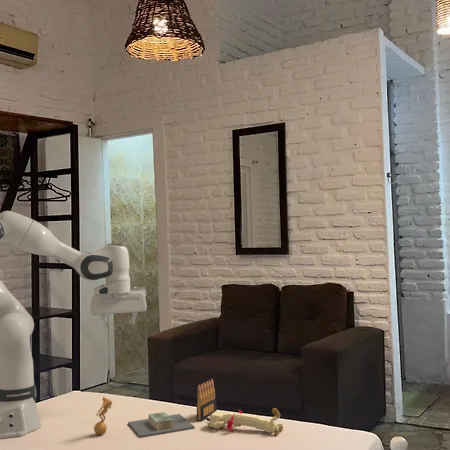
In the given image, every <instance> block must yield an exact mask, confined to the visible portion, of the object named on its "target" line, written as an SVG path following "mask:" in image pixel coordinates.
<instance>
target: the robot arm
mask: <svg viewBox="0 0 450 450" xmlns="http://www.w3.org/2000/svg"><path fill="white" fill-rule="evenodd" d="M0 243H7V244H10V245H11V246H14V247H16V248H18V249H20V250H21V251H25V252H27V253H30V254H33V255H37V256H46V257H50V258H53V259H55V260H58V261H59V262H62V263H64V264H65V265H68V266H70V267H71V268H73V270H75V271H76V273H77V275H78V276H80V277H81V278H82V279H84V280H87V281H88V280H89V281H98V280H100V279H101V280H102V279H105V283H104V284H102V285H99V286H95V287H94V288H93V289H92V291H93V295H92V297H91V300H90V308H89V309H90V311H89V312H90V314H91V315H93V316H100V319H101V321H102V322H103V327H104V328H109V327H110V322H109V321H107V320H106V319H105V318H106V315H119V314H128V313H129V314H130V313H131V314H132V318H131V319H129V326H134V325H136V324H135V320H136V319H137V316H138V313H143V312H146V310H147V308H148V307H147V301H146V300H147V299H146V297H147V289H146V288H145V287H143V286H131V277H130V274H129V273H130V268H131V266H130V254H129V250H128V248H127V247H126V246H125V245H123V244H117V243H107V244H106V245H105V246H104V247H102V248H100V249H98V250H96V251H94V252H83V251H80V250H77V249H76V248H73V247H71V246H69V245H67V244H65V243H64V242H61V241H60V240H59V239H58V238H57V237H56V236H55V235H54V234H53V232H52V231H51V230H50V229H49V228H47V227H46V226H44V225H43V224H42V223H40V222H38V221H37V220H35V219H33V218H31V217H28V216H26V215H23V214H21V213H18V212H15V211H12V210H4V211H2V212H0ZM34 329H35V322H34V318H33V316H32V315H31V314H30V313H29V312H28V311H27V309H26V308H25V306H23V305H22V304H21V303H20V302H19V300H18V299H17V298H16V297H15V296H14V295H13V294H12V293H11V292H10V290H9V289H8V288H7V287H6V285H5V284H4V283H3V282H2V280H1V279H0V439H5V438H14V437H15V438H17V437H23V436H25V435H26V434H28V433H30V432H33V431H35V430H38V429H39V428H41V425H42V424H41V421H40V419H39V415H38V410H37V405H36V404H37V403H36V401H37V387H36V384H35V379H34V378H35V376H34V375H35V374H34V359H33V356H32V355H33V354H32V349H31V340H30V339H31V338H30V336H31V335H32V334H33V333H34Z"/></svg>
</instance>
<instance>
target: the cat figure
mask: <svg viewBox="0 0 450 450" xmlns="http://www.w3.org/2000/svg"><path fill="white" fill-rule="evenodd" d="M271 413H272V415H274V416H272V418H271V419H268V418H263V417H261V416H257V415H256V416H255V415H250V414H245V413H243V412H242V410H241V409H238V413H235V412H234V413H233V412H226V411H221V410H217V411H216V412H214V413H213V414H211V415H210V416H208V417H207V418H206V419H205V420H206V421H205V423H206V424H207V426H208V427H211V428H213V429H217V430H219V429H222V428H223V427H224V426H225V425H226V426H225V427H226V429H228V430H229V431H230V432H231V433H234V430H233V426H234V425H235V426H238V427H241V426H244V427H251V428H255V429H256V430H263V431H264V432H266V433H269V434H271V433H273V432H274V436H279V434H280V432H281V433H282V432H283V430H284V426H283V425H284V424H283V422H279V423H276V422H275V421H277V420H278V419H280V418H281V413H280V411H279V410H278V409H277V408H276V407H274V408H272V409H271Z"/></svg>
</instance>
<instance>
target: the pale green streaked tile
mask: <svg viewBox="0 0 450 450" xmlns="http://www.w3.org/2000/svg"><path fill="white" fill-rule="evenodd" d="M148 419H149V423H150V424H151V425H152V426H153V427H154V428H155V429H156V430H162V429H168V428H174V426H173V419H172V418H171V417H170V416H169V415H168V414H167V412H165V411H162V412H156V413H148Z"/></svg>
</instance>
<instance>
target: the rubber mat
mask: <svg viewBox="0 0 450 450" xmlns="http://www.w3.org/2000/svg"><path fill="white" fill-rule="evenodd" d="M168 416H170V417H171V418H172V419H173V426H174V428H168V429H162V430H156V429H155V428H154V427H153V426H152V425H151V424H150V423H149V418H145V419H139V420H133V421H132V420H131V421H128V422H127V424H128V426H129V427H130V428H131V429H132V430H133V431H134V433H135V434H136V435H137V436H138V437H139V438H147V437H152V436H158V435H165V434H171V433H176V432H181V431H187V430H193V429H194V430H195V429H196V427H195V426H194V424H193V423H191V422H190V421H189V420H187V419H186V418H185V417H184V416H182V415H181V414H180V413H178V414H177V413H176V414H170V415H168Z"/></svg>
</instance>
